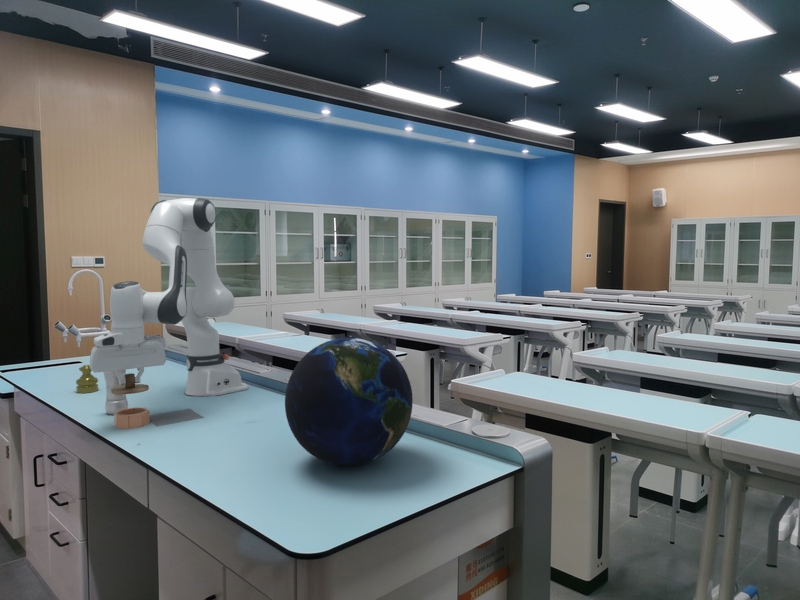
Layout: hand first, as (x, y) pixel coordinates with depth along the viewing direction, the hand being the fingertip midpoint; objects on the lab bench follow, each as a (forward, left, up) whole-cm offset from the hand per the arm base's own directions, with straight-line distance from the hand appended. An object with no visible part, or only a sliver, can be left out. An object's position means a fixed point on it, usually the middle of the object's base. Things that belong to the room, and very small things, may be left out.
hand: (129, 383), depth 169 cm
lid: (0, 0, -2) cm, 2 cm away
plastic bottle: (0, -18, -13) cm, 22 cm away
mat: (-12, 0, -13) cm, 18 cm away
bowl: (0, 0, -13) cm, 13 cm away
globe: (-34, +67, -13) cm, 76 cm away
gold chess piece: (+2, -61, -13) cm, 63 cm away
